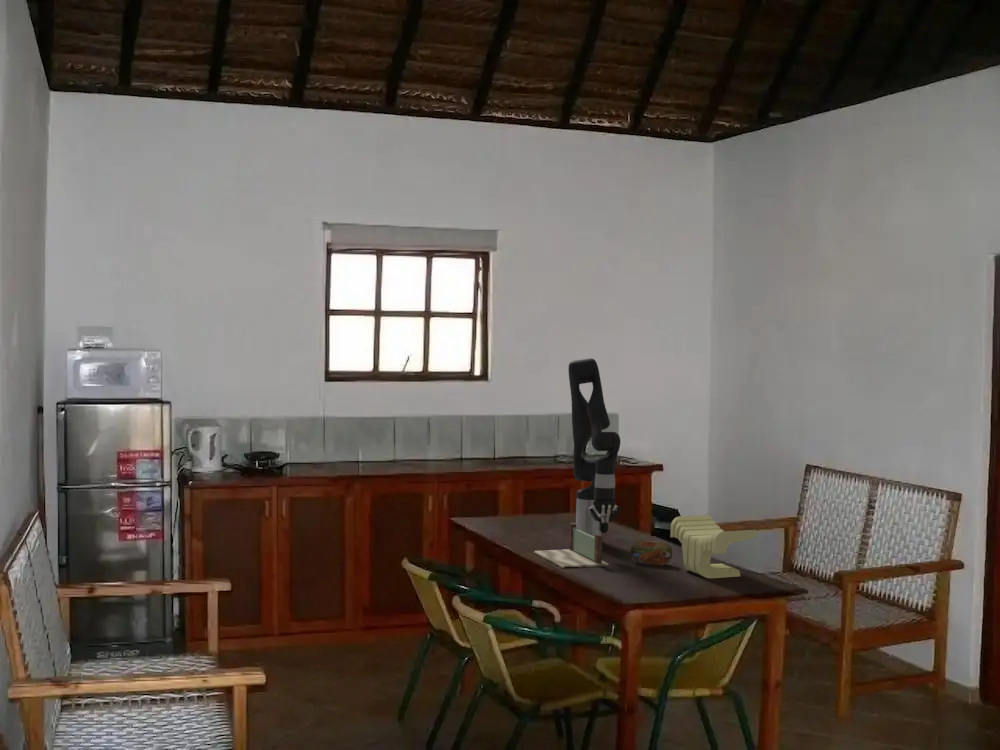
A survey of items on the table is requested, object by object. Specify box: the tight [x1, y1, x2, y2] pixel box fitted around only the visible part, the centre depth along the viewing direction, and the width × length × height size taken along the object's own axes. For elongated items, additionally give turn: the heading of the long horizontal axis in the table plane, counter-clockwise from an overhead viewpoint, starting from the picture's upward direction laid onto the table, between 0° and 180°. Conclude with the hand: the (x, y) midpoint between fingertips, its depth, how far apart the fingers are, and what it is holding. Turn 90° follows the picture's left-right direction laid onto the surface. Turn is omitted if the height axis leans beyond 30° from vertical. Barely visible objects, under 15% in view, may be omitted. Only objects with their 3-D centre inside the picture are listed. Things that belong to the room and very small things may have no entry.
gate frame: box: [533, 522, 609, 569], centre depth 401 cm, size 18×27×11 cm, turn 19°
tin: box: [630, 540, 673, 566], centre depth 397 cm, size 15×3×8 cm, turn 70°
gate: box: [573, 527, 595, 560], centre depth 404 cm, size 2×21×8 cm, turn 19°
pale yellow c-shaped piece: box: [669, 514, 757, 579], centre depth 383 cm, size 30×16×18 cm, turn 20°
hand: (603, 532), depth 404 cm, fingers closed
